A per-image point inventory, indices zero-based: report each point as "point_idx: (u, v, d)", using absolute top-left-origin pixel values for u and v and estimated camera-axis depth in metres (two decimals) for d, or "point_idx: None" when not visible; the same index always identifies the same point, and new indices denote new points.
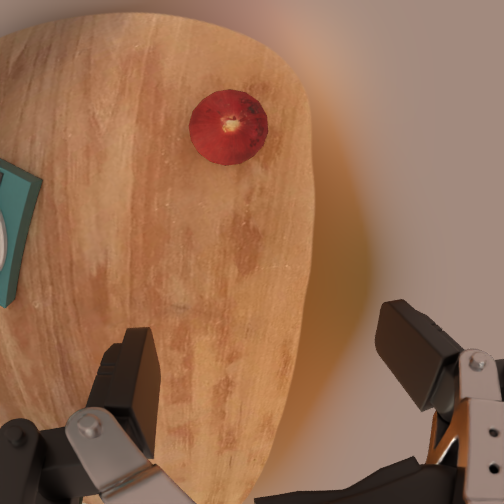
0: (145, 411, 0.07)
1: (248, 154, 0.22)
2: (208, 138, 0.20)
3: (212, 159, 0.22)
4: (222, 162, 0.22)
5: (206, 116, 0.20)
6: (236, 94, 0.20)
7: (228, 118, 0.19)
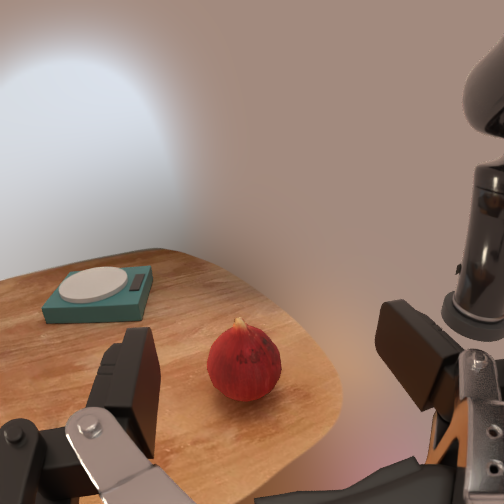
0: (145, 411, 0.07)
1: (229, 367, 0.22)
2: (221, 334, 0.24)
3: (208, 357, 0.23)
4: (210, 364, 0.23)
5: None
6: (269, 338, 0.25)
7: None
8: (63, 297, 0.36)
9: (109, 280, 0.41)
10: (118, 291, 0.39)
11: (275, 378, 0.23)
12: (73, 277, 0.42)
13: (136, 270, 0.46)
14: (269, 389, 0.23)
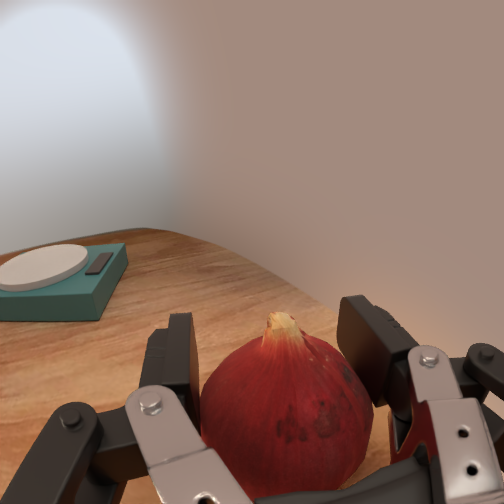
0: (194, 390, 0.08)
1: (255, 451, 0.07)
2: (229, 357, 0.09)
3: None
4: (202, 432, 0.08)
5: None
6: None
7: None
8: None
9: (61, 260, 0.26)
10: (69, 275, 0.24)
11: (363, 457, 0.08)
12: (19, 257, 0.27)
13: (103, 248, 0.31)
14: (345, 479, 0.08)
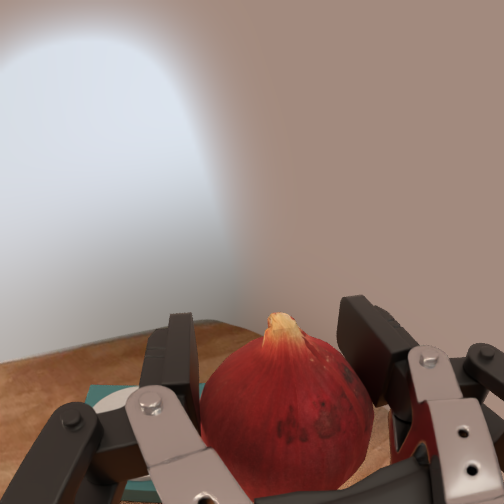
0: (194, 390, 0.08)
1: (256, 452, 0.07)
2: (230, 358, 0.09)
3: None
4: (202, 433, 0.08)
5: None
6: None
7: None
8: None
9: None
10: None
11: (364, 457, 0.08)
12: (101, 410, 0.23)
13: None
14: (346, 480, 0.08)
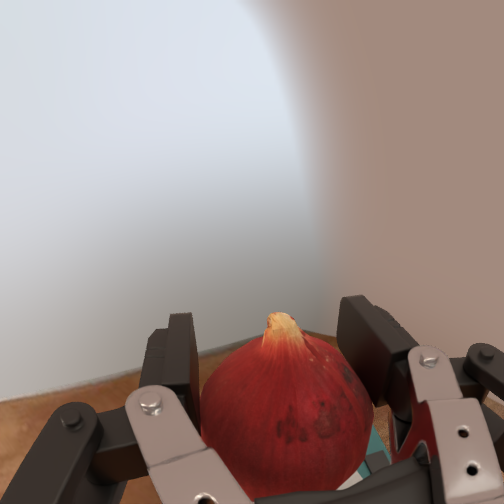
0: (194, 390, 0.08)
1: (255, 452, 0.07)
2: (229, 358, 0.09)
3: None
4: (202, 433, 0.08)
5: None
6: None
7: None
8: None
9: None
10: None
11: (364, 457, 0.08)
12: None
13: None
14: (345, 480, 0.08)
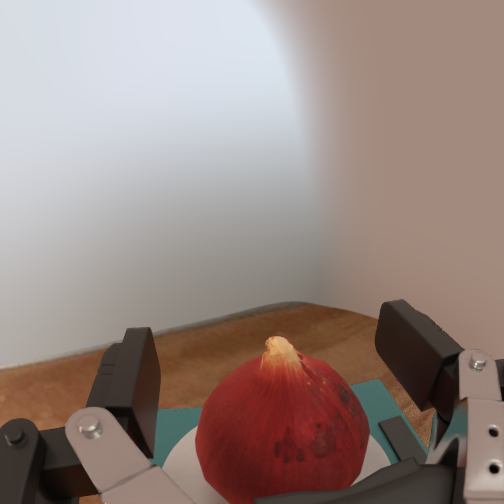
0: (145, 411, 0.07)
1: (254, 470, 0.07)
2: (229, 378, 0.09)
3: (197, 431, 0.09)
4: (203, 450, 0.08)
5: None
6: None
7: None
8: None
9: None
10: None
11: (359, 472, 0.08)
12: (188, 459, 0.12)
13: (360, 402, 0.16)
14: None
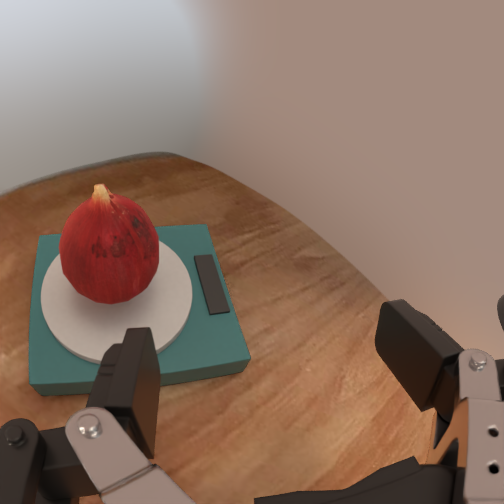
0: (145, 411, 0.07)
1: (82, 261, 0.14)
2: (78, 207, 0.15)
3: None
4: (61, 252, 0.14)
5: None
6: (145, 215, 0.16)
7: (105, 186, 0.14)
8: (69, 349, 0.16)
9: (154, 283, 0.20)
10: (188, 318, 0.20)
11: (148, 277, 0.16)
12: (61, 269, 0.19)
13: (185, 238, 0.25)
14: (140, 291, 0.16)
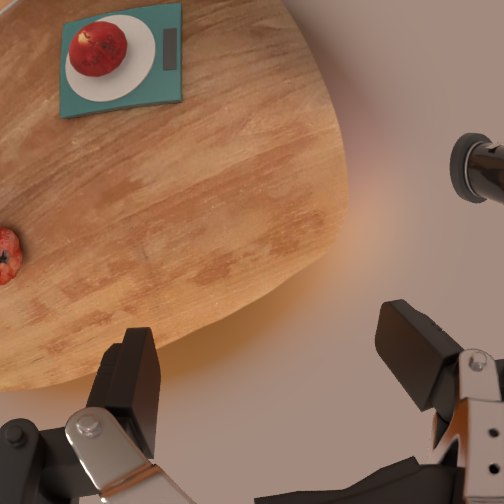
0: (145, 411, 0.07)
1: (79, 67, 0.22)
2: (75, 37, 0.20)
3: (68, 52, 0.22)
4: None
5: (87, 26, 0.20)
6: (114, 33, 0.21)
7: (84, 33, 0.19)
8: (81, 96, 0.27)
9: (132, 52, 0.27)
10: (149, 72, 0.28)
11: (117, 64, 0.24)
12: None
13: (162, 15, 0.26)
14: (115, 68, 0.25)
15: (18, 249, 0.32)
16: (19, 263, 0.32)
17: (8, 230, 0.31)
